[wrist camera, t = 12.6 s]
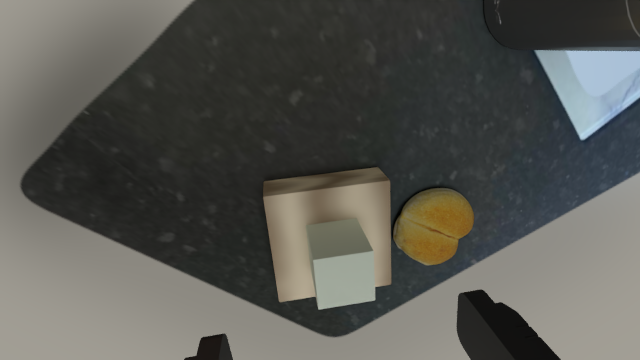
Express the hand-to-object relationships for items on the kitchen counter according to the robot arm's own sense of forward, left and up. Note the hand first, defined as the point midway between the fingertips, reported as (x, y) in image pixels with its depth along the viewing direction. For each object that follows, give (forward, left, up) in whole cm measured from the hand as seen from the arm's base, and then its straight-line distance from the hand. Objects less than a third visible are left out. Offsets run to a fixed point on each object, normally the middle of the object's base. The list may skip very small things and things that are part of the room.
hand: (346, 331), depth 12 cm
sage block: (-3, +10, -21) cm, 23 cm away
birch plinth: (-2, +10, -25) cm, 27 cm away
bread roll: (-14, +11, -25) cm, 31 cm away
